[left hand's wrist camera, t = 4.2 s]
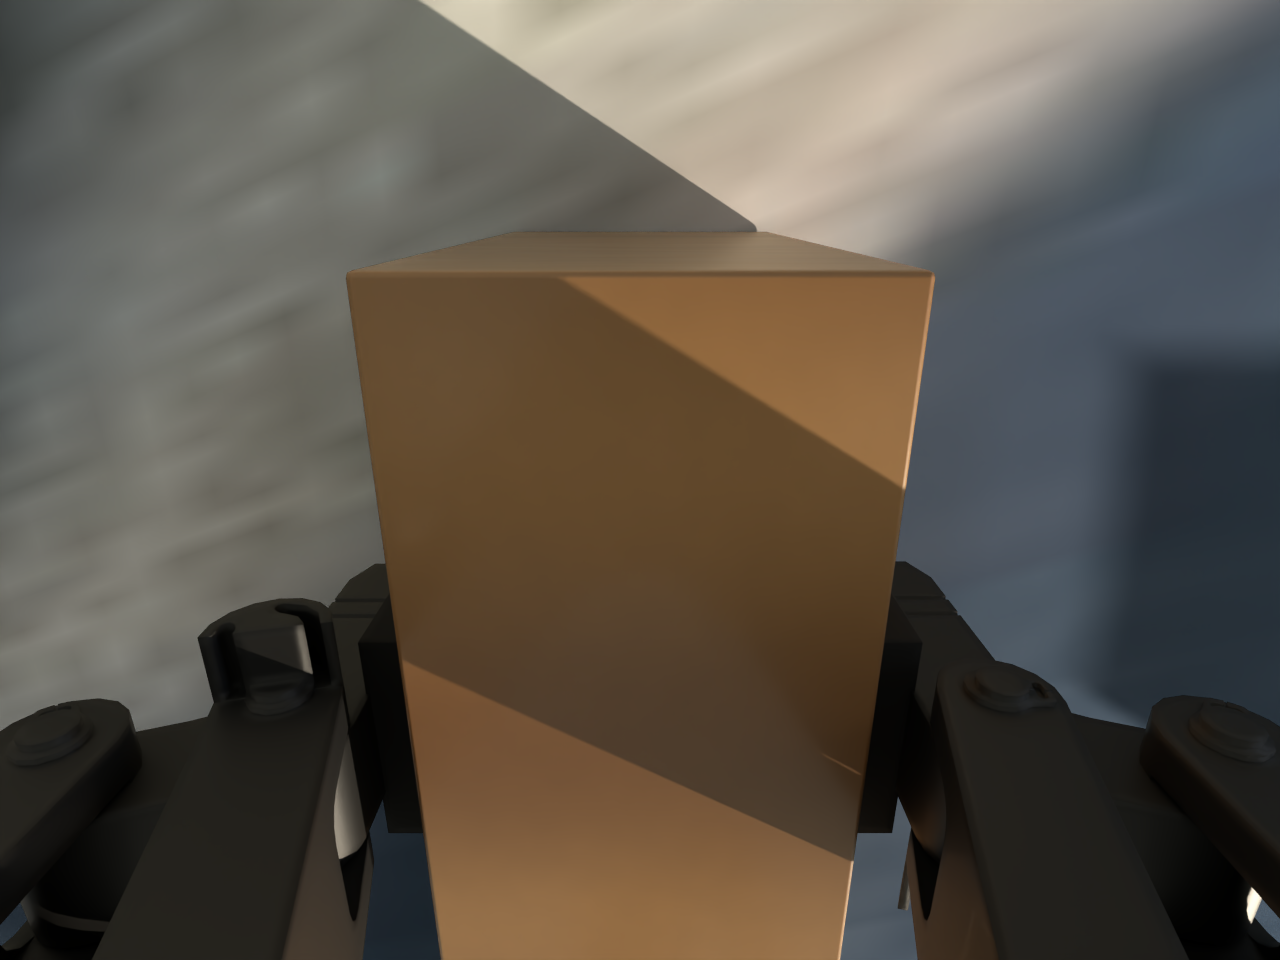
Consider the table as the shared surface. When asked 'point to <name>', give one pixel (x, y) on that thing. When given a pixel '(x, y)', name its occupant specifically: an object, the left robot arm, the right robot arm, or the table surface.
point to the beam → (640, 577)
